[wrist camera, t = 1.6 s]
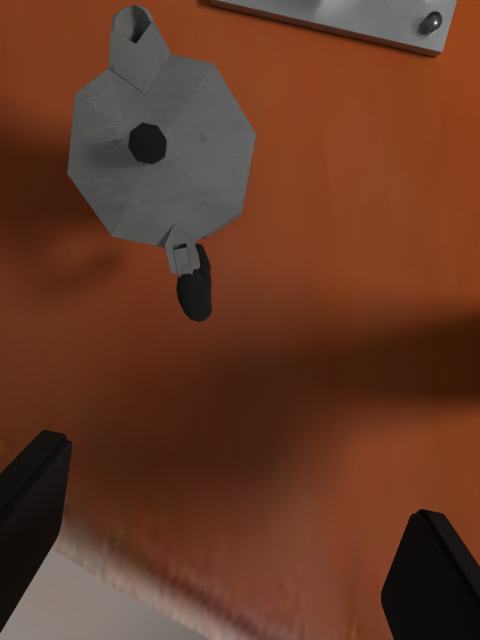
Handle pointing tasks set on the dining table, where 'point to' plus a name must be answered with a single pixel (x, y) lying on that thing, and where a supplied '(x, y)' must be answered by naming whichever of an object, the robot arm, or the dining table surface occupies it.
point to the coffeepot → (161, 151)
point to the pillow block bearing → (362, 19)
